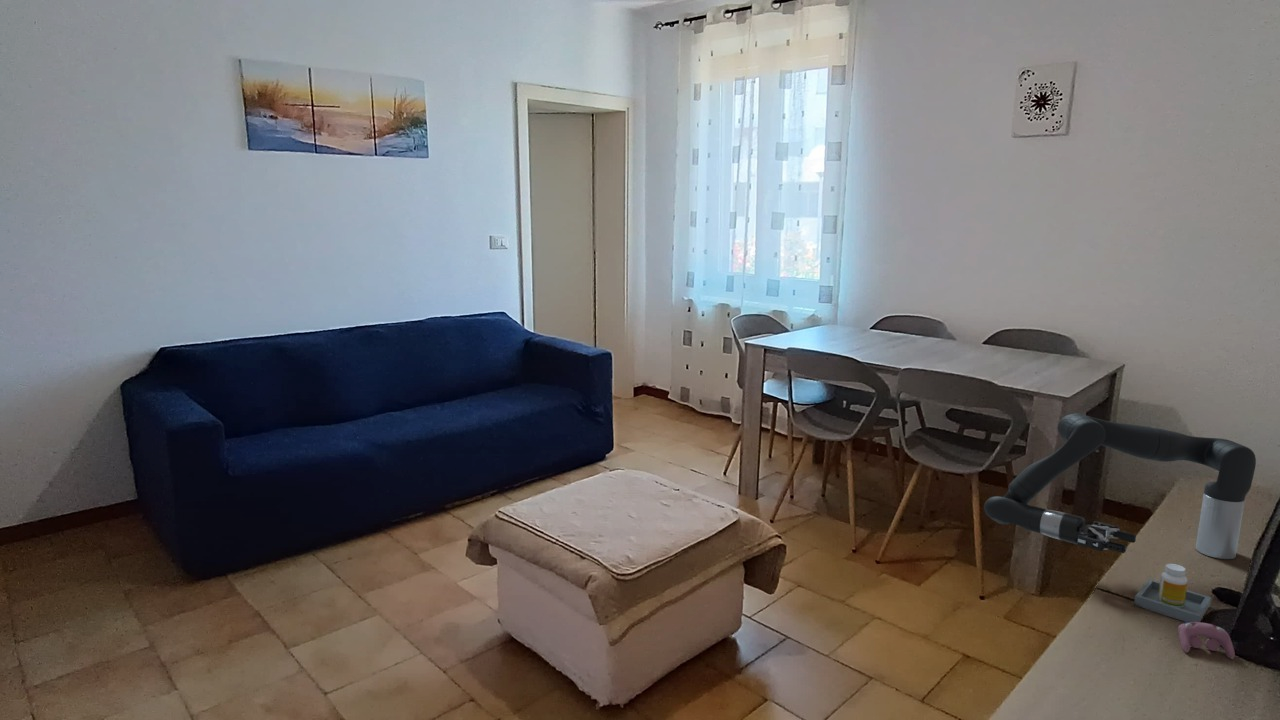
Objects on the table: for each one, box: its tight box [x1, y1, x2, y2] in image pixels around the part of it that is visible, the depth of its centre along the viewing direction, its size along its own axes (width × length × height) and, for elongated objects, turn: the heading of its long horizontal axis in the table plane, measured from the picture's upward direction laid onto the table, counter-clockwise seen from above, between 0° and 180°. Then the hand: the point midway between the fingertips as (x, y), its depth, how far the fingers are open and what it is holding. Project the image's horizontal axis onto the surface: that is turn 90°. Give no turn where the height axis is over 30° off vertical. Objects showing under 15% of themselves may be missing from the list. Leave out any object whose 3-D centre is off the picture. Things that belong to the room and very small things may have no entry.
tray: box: [1133, 578, 1212, 623], centre depth 182 cm, size 13×13×2 cm
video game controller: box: [1177, 621, 1236, 660], centre depth 163 cm, size 10×5×7 cm, turn 72°
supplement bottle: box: [1158, 563, 1188, 608], centre depth 181 cm, size 5×5×10 cm
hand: (1130, 543), depth 189 cm, fingers open, 8 cm apart
